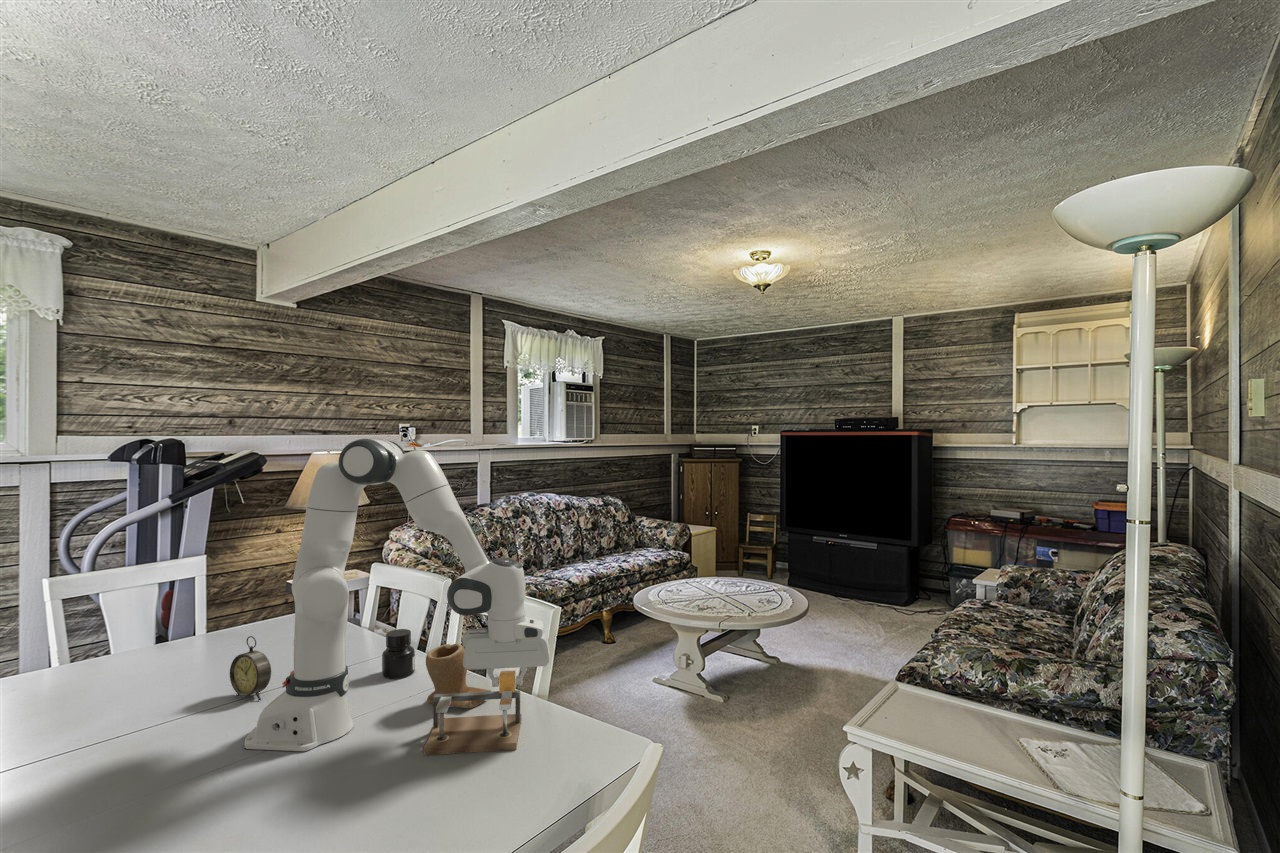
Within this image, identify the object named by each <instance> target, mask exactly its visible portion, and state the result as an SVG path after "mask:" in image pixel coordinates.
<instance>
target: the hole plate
mask: <svg viewBox="0 0 1280 853" xmlns="http://www.w3.org/2000/svg"><path fill="white" fill-rule="evenodd" d="M501 696H502V693H499V690H498V691H497V690H495V691H492V690H491V692H472V693H453V694H435V695H434V697H433V703H432V715H433V716H432V718H433V719H432V720H433V721H432V722H433V723H432V725H433V728H432V730H431V732H430V734H429V736H428V739H427V741H426V744H424V748H423V756H434V755H435V756H436V755H449V754H450V755H451V754H464V753H465V754H467V753H482V752H483V753H484V752H498V751H512V750H513V751H515V750H517V749H518V743H519V742H518V741H519V737H520V731H519V730H521V725H522V713H521V690H520V689H515V692H512V699H515V707H514V708H515V713H512V714H511V713H510V714H508V713H507V733H506V734H503V714H495V715H494V714H493V715H475V716H473V715H472V716H457V717H445V714H447V713H448V710H449V708H450V704H451V702H452V701H471V700H485V701H487V700H501ZM520 724H521V725H520ZM518 736H519V737H518Z"/></svg>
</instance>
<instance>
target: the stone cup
mask: <svg viewBox="0 0 1280 853" xmlns="http://www.w3.org/2000/svg"><path fill="white" fill-rule="evenodd" d="M464 651H465V647H464V646H463V644H460V643H454V644H447V643H446V644H441V645H439V646H437V647H434V648H432V649H431V650H430V651H429V652H428V653H427V654H426V656H425V666H426V670H427V673H428V675H429V678H430V679H431V682H432V684H433V686H434V687H433V688H434V691H432V692H431V693H430V694H429V695H428V696H427V698H426V699H427V700H426V701H427V702H429V703H430V704H433V697H434V695H435V694H453V693H472V692H492V690H491V689H484V688H479V687H474V686H468V685H467V683H466V682H467V674H468V673H467V671H468V670H466V669H465V668H464V666H463V659H464ZM485 701H486V700H471V701H452V702H451V704H450V706H449V708H450V707H453V708H460V709H471V708H475V707H477V706H479V705H481V704H482V703H484V702H485Z"/></svg>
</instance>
